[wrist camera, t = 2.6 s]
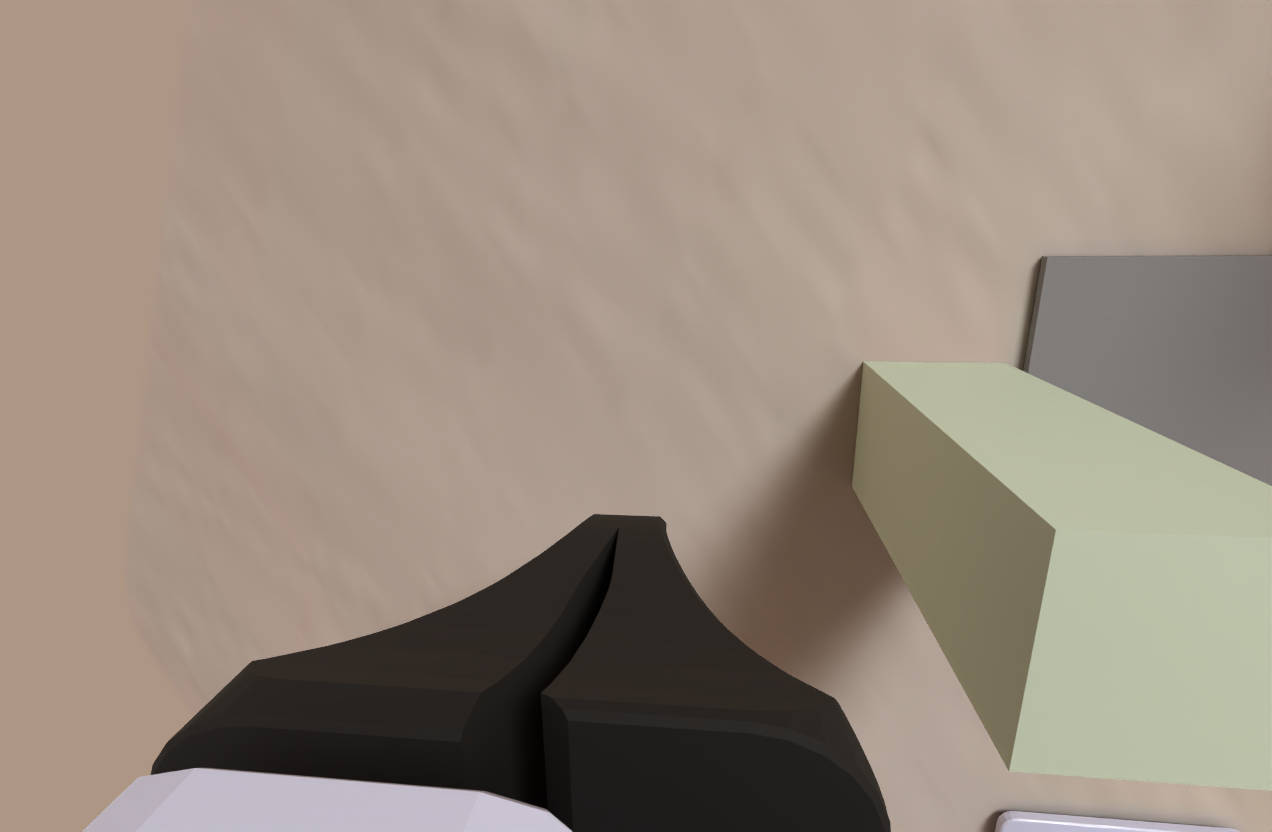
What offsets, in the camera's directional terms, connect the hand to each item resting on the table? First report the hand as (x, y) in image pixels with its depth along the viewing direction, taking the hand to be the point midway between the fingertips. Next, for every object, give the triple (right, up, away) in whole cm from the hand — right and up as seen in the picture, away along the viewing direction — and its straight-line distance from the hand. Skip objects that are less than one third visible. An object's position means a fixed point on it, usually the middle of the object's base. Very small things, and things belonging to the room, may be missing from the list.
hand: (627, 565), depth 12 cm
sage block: (+9, +2, +8) cm, 12 cm away
